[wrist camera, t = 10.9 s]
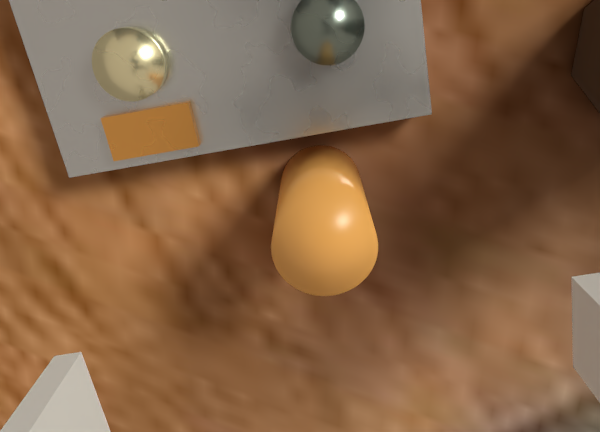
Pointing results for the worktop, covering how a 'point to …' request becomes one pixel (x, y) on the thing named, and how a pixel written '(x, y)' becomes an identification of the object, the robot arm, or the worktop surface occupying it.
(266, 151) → the worktop surface
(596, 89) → the beer bottle
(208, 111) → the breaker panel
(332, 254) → the cap
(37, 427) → the robot arm
